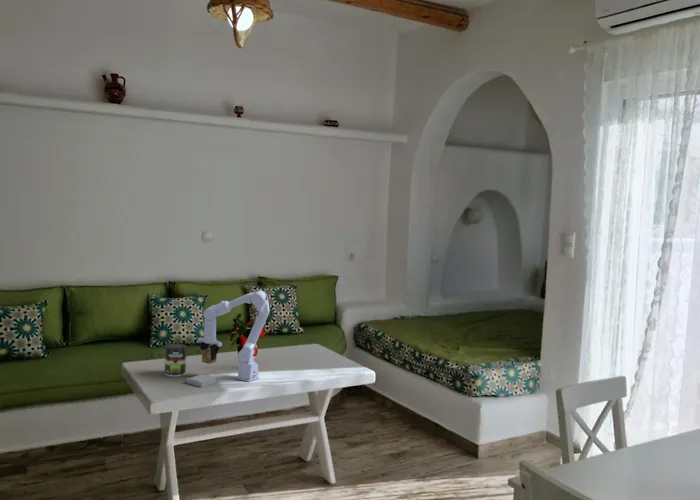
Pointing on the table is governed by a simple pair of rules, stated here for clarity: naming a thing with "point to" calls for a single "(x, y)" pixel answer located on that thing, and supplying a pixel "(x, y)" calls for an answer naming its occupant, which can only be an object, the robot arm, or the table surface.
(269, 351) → the table surface
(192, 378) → the pedestal
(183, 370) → the coffee can
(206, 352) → the walnut block
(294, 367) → the table surface
